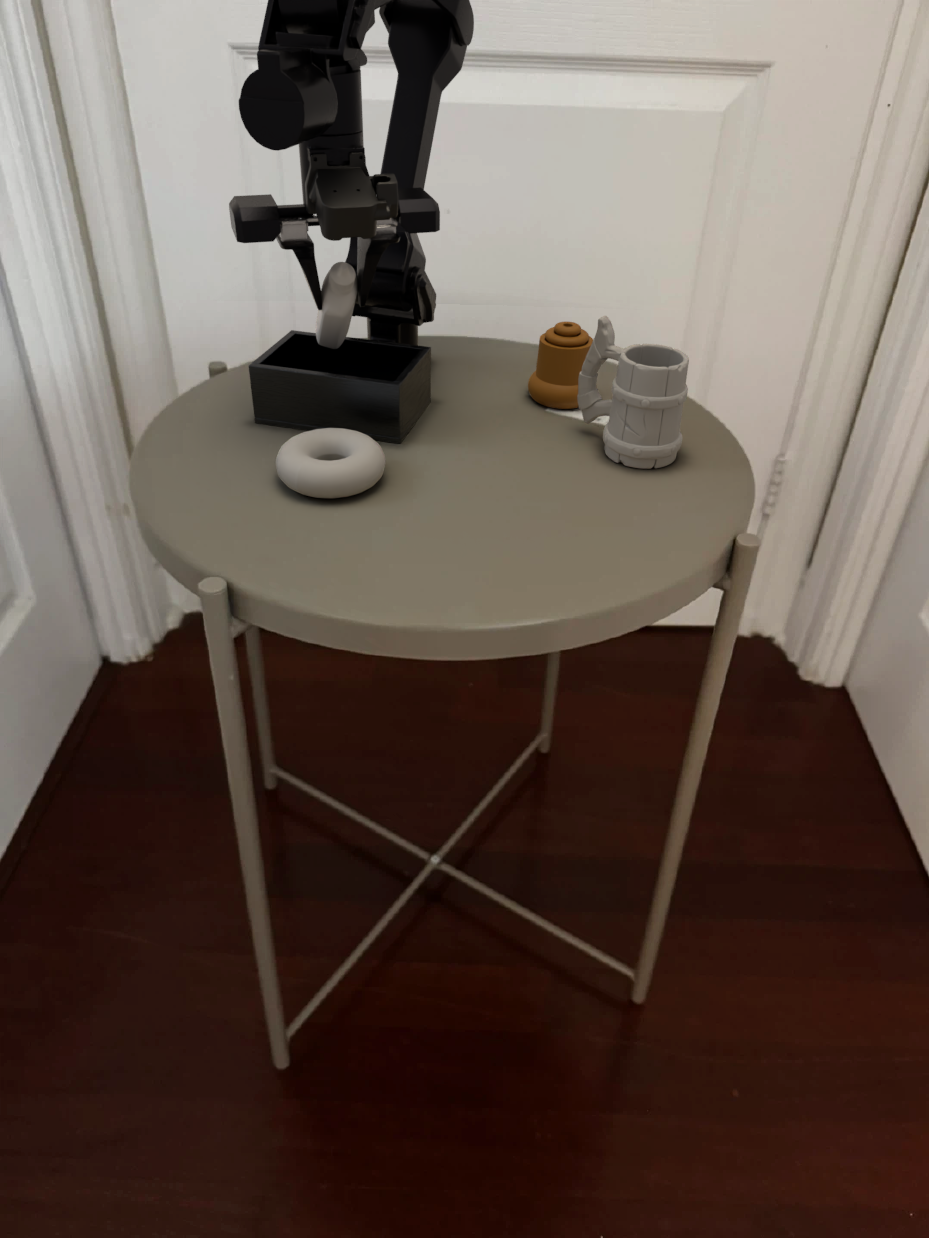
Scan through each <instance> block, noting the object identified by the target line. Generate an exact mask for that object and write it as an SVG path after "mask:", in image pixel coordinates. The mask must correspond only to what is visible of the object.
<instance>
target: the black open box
mask: <svg viewBox="0 0 929 1238" xmlns="http://www.w3.org/2000/svg"><path fill="white" fill-rule="evenodd" d="M248 375H249V382H250V390H251V401H252V407H253V415H254V416H253V417H254V423H255V424H260V425H267V426H273V427H274V426H275V427H279V428H287V429H295V430H302V431H311V430H315V429H323V428H343V429H349V430H354V431H358V432H361V433H363V434H366V435H368V436H369V437H371V438H372V439H373V440H375V441H376V442H377V441H379V442H386V443H393V444H398V445H401V444H402V442H403V441H404V440H405V438H406V437H407V435H408V434H409V433H410V431H412V429H413V427H414V426H415V424H416V423H417V422H418V420H419V419H420V417H421V416H422V415H423V414H424V412H425V411H426V409H427V408H428V407H429V405H430V404H431V403H432V347H431V346H424V345H418V346H417V345H409V344H401V343H393V342H384V341H376V340H368V338H358V337H352V336H346V338H345V340H344V341H343V343H342V344H341V346H340V347H339V348H337V349H332V348H328V347H324V346H321V345H319V344H318V342H317V339H316V332H311V331H303V330H302V331H301V330H294V329H291V330H289V332H287V333H286V334H284V335H283V337H281V338H280V339H279V340H277V341H276V342H275V343H274V344H272V346H270V347H269V348H268V349H267V350H265V351H264V352H263V353H262V354H260V355H259V356H258V357H257V358H256V359H254V361H252V362H251V363H250V364H248Z"/></svg>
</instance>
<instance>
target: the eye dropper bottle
mask: <svg viewBox="0 0 929 1238" xmlns="http://www.w3.org/2000/svg"><path fill="white" fill-rule="evenodd" d="M357 289H358V283H357V277H356V273H355V271H354V268H353V267H352V266H351V265H350V264H348V263H345V261H337V262H336V263H335V262H334V263H333V264H332V266H331V267H330V269H329V270H328V272H327V273H326V274H325V277H324V279H323V282H322V284H321V294H322V310H318V309H317V313H316V318H315V319H316V320H315V333H316V339H317V342H318V344H319V345H321V346H324V347H328V348H332V349H337V348H339V347H340V346H341V344H342V343H343V341H344V340H345V338H346V337H348V336H347V335H348V333H349V330H350V325H351V321H352V318H353V316H352V313H353V309H354V305H355V301H356V296H357Z"/></svg>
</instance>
